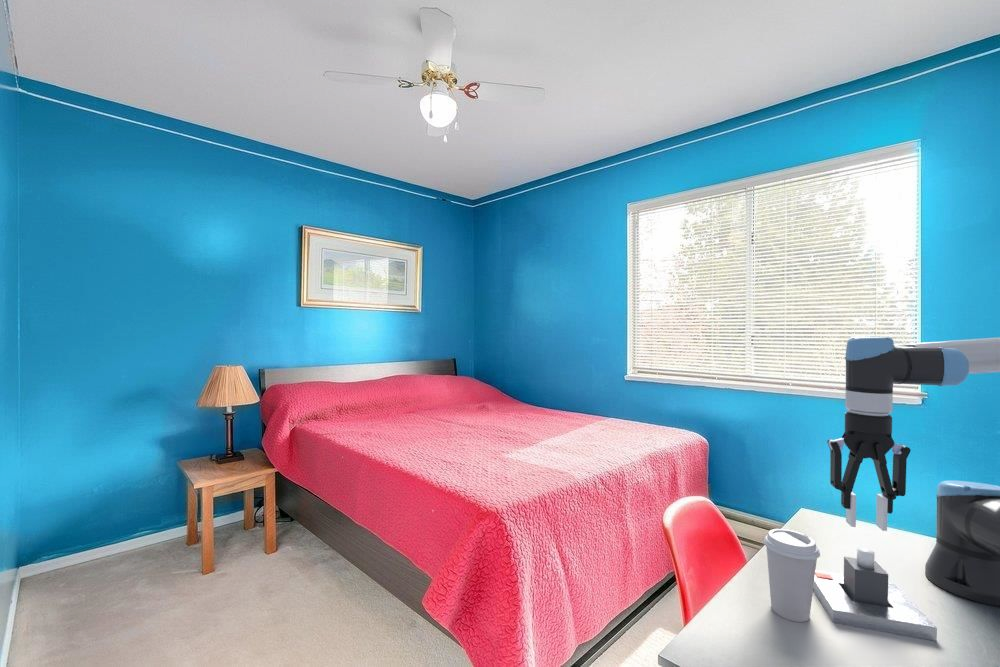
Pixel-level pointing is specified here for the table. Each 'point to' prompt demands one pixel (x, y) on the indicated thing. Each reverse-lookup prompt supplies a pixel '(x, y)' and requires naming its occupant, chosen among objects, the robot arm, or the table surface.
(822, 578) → the socket plate
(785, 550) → the coffee cup
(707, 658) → the table surface
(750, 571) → the table surface
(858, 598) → the plug
